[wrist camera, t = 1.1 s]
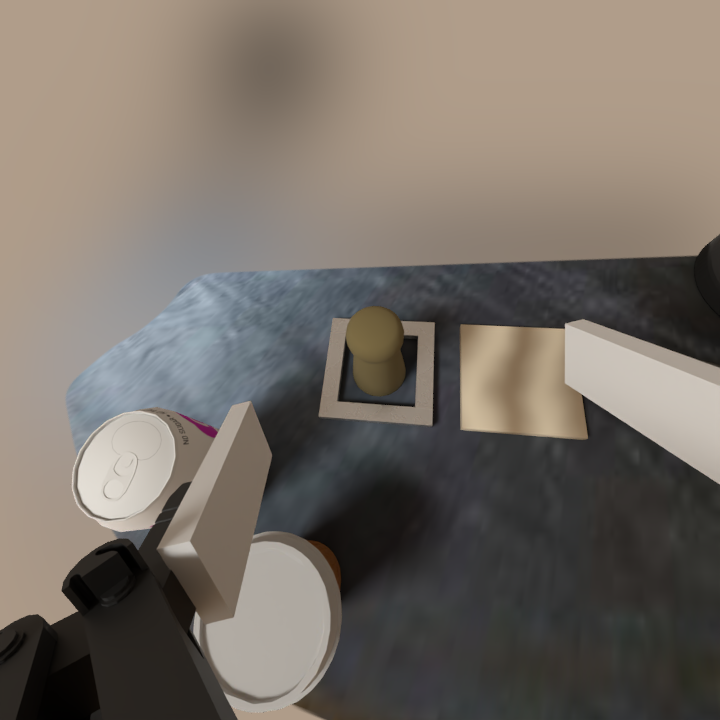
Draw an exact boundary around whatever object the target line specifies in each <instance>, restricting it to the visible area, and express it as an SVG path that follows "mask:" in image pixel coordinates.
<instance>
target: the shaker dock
mask: <svg viewBox="0 0 720 720" xmlns="http://www.w3.org/2000/svg"><path fill="white" fill-rule="evenodd" d="M349 321H350V319H342V318H333V322H332V328H331V335H330V342H329V349H328V355H327V362H326V369H325V376H324V383H323V389H322V396H321V403H320V410H319V418H320V419H333V420H345V421H357V422H369V423H382V424H394V425H406V426H419V427H432V418H433V373H434V328H435V322H412V321H401V322H402V325H403V329H404V339H418V346H417V370H416V394H415V407H405V406H392V405H378V404H365V403H352V402H339V396H340V388H341V380H342V372H343V365H344V357H345V349H346V329H347V325H348V323H349Z"/></svg>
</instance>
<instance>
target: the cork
mask: <svg viewBox="0 0 720 720" xmlns="http://www.w3.org/2000/svg"><path fill="white" fill-rule="evenodd" d="M403 340H404V329H403V325H402V322H401V321H400V319H399V318H398V316H397V315H396V314H395V313H394V312H392V311H391V310H390V309H387V308H384V307H379V306H371V307H366V308H364V309H362V310H360V311H358V312H357V313H356V314H355V315H353V316H352V317H351V319H350V321H349V323H348V325H347V329H346V341H347V345H348V347H349V349H350V350H351V352H352V354H354V359H353V376H354V380H355V382H356V384H357V385H358V387H359V388H360V389H361V390H362V391H364V392H365V393H367V394H370V395H372V396H385V395H389V394H391V393H393V392H394V391H396V390H397V389H398V388H399V387H400V386H401V385H402V383H403V381H404V378H405V373H406V368H405V364H404V361H403V357H402V354H401V350H400V349H401V346H402V344H403Z"/></svg>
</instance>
